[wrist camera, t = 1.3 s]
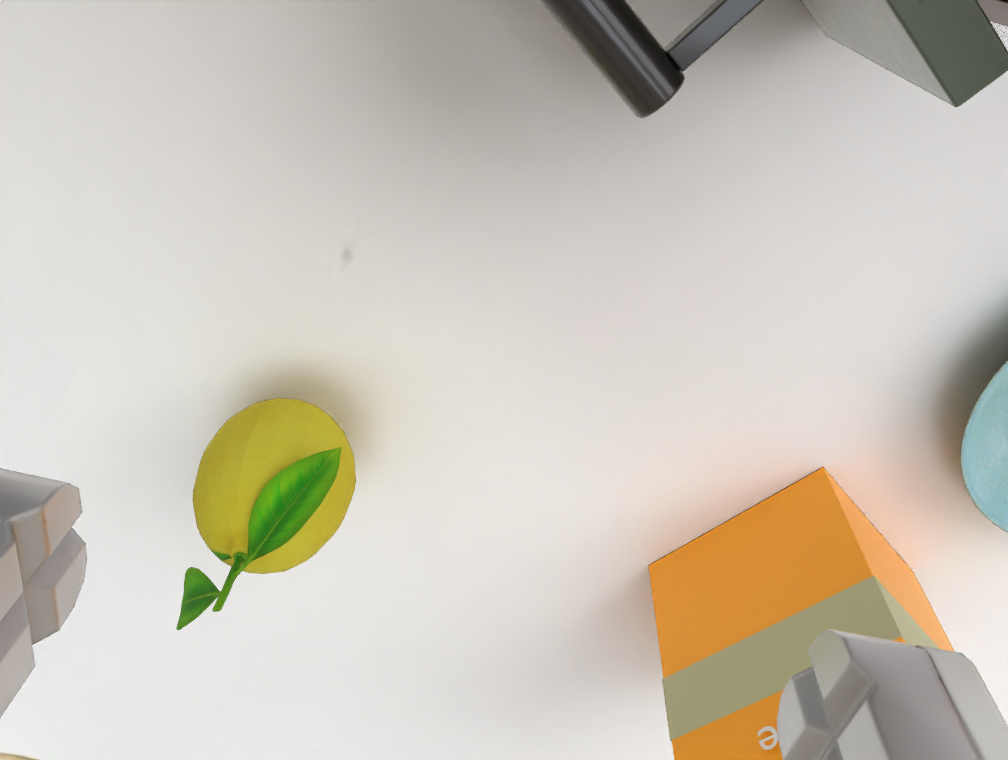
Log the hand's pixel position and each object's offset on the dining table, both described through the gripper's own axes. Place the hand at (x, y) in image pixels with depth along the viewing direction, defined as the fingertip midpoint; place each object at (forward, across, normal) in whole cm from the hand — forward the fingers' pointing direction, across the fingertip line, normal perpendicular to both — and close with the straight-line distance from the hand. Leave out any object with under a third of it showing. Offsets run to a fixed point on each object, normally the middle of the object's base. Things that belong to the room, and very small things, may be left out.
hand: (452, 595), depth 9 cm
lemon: (+20, +6, +14) cm, 25 cm away
